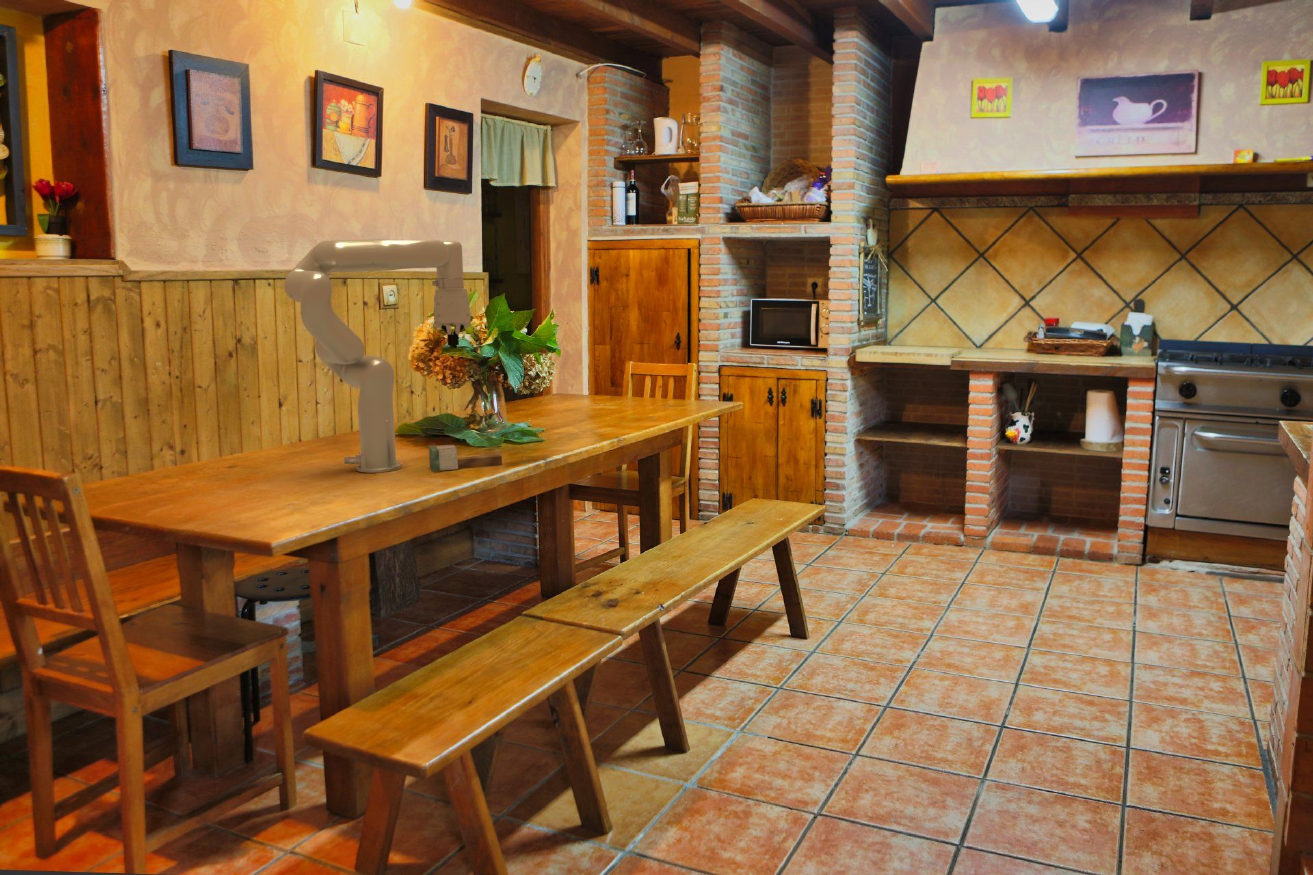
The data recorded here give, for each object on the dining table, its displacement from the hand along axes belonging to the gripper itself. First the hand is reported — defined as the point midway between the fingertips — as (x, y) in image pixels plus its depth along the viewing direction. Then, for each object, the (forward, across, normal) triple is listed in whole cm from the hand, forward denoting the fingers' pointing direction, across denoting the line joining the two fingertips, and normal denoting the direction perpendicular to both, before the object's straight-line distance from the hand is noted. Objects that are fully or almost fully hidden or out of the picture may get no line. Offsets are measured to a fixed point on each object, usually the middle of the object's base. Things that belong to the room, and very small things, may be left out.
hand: (453, 347), depth 304 cm
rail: (+32, 0, -18) cm, 37 cm away
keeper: (+32, -6, -18) cm, 37 cm away
